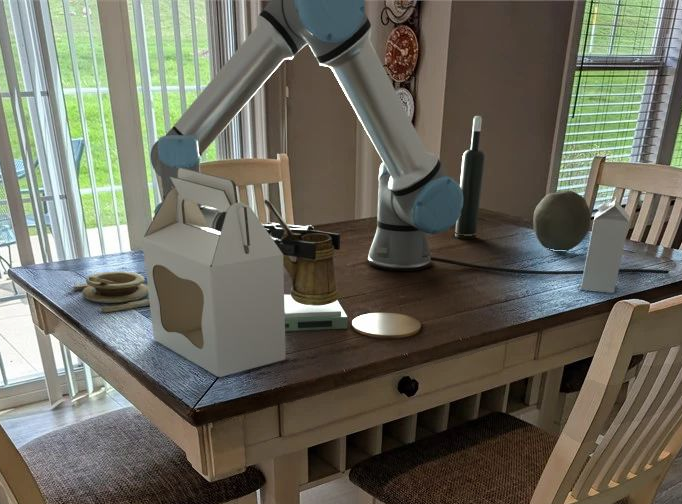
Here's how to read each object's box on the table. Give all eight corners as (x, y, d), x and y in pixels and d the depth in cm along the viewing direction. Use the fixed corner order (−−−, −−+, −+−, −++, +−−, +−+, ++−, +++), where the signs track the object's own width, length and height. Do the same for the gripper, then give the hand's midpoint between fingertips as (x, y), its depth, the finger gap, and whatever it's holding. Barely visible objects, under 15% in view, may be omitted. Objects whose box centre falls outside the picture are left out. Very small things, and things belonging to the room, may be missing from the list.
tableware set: (101, 313, 140) (96, 283, 137) (69, 288, 154) (64, 260, 151) (238, 291, 155) (237, 262, 152) (198, 270, 169) (196, 243, 165)
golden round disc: (410, 314, 144) (410, 311, 144) (429, 336, 133) (429, 333, 133) (345, 317, 142) (345, 314, 141) (360, 340, 131) (360, 336, 131)
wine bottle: (450, 236, 203) (462, 115, 187) (463, 233, 207) (476, 115, 191) (466, 240, 200) (479, 117, 184) (479, 237, 203) (493, 116, 187)
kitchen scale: (334, 307, 147) (334, 292, 145) (347, 328, 136) (348, 313, 134) (265, 310, 145) (265, 295, 143) (273, 332, 134) (272, 316, 132)
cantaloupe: (533, 244, 198) (542, 184, 190) (586, 249, 193) (598, 189, 185) (524, 255, 186) (533, 193, 178) (581, 261, 182) (593, 198, 174)
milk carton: (614, 285, 164) (634, 196, 154) (613, 294, 159) (633, 201, 149) (582, 282, 166) (599, 193, 156) (580, 290, 161) (597, 198, 151)
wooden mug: (265, 291, 140) (261, 192, 130) (334, 288, 143) (335, 191, 132) (270, 308, 133) (266, 205, 123) (342, 304, 135) (345, 203, 125)
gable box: (153, 339, 129) (131, 168, 114) (217, 325, 136) (205, 162, 121) (219, 379, 115) (205, 188, 100) (287, 360, 122) (283, 180, 107)
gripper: (256, 240, 150) (353, 256, 141) (192, 261, 134) (296, 280, 125) (255, 201, 146) (355, 215, 137) (188, 219, 130) (296, 235, 121)
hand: (327, 246), depth 131 cm, fingers closed on wooden mug, 8 cm apart
